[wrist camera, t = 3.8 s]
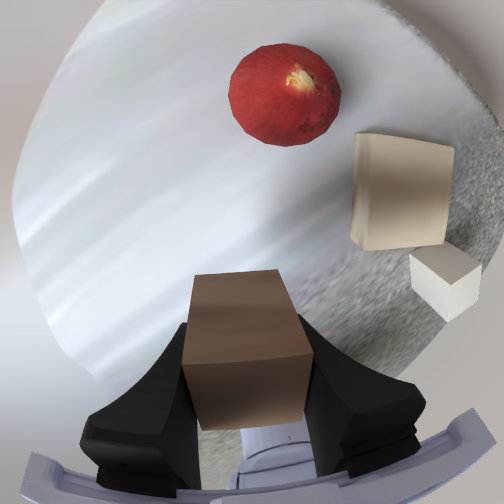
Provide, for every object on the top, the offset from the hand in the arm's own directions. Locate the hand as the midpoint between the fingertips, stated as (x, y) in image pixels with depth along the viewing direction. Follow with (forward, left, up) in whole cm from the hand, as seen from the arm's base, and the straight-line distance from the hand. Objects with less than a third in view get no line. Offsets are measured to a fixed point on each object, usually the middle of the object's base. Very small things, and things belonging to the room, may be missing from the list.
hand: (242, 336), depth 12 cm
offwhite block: (-2, -18, -9) cm, 20 cm away
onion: (+11, -3, -9) cm, 14 cm away
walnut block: (0, 0, -2) cm, 2 cm away
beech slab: (+5, -13, -9) cm, 17 cm away
